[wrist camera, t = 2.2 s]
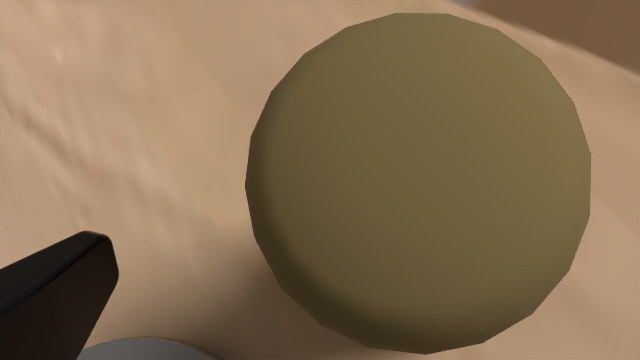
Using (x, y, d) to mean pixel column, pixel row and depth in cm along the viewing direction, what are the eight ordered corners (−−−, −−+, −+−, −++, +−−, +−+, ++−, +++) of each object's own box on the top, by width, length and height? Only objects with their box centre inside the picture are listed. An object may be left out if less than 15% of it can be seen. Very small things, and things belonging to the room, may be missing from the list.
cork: (289, 265, 19) (103, 232, 8) (387, 109, 19) (335, -123, 8) (454, 376, 17) (498, 516, 6) (558, 203, 17) (761, 67, 7)
